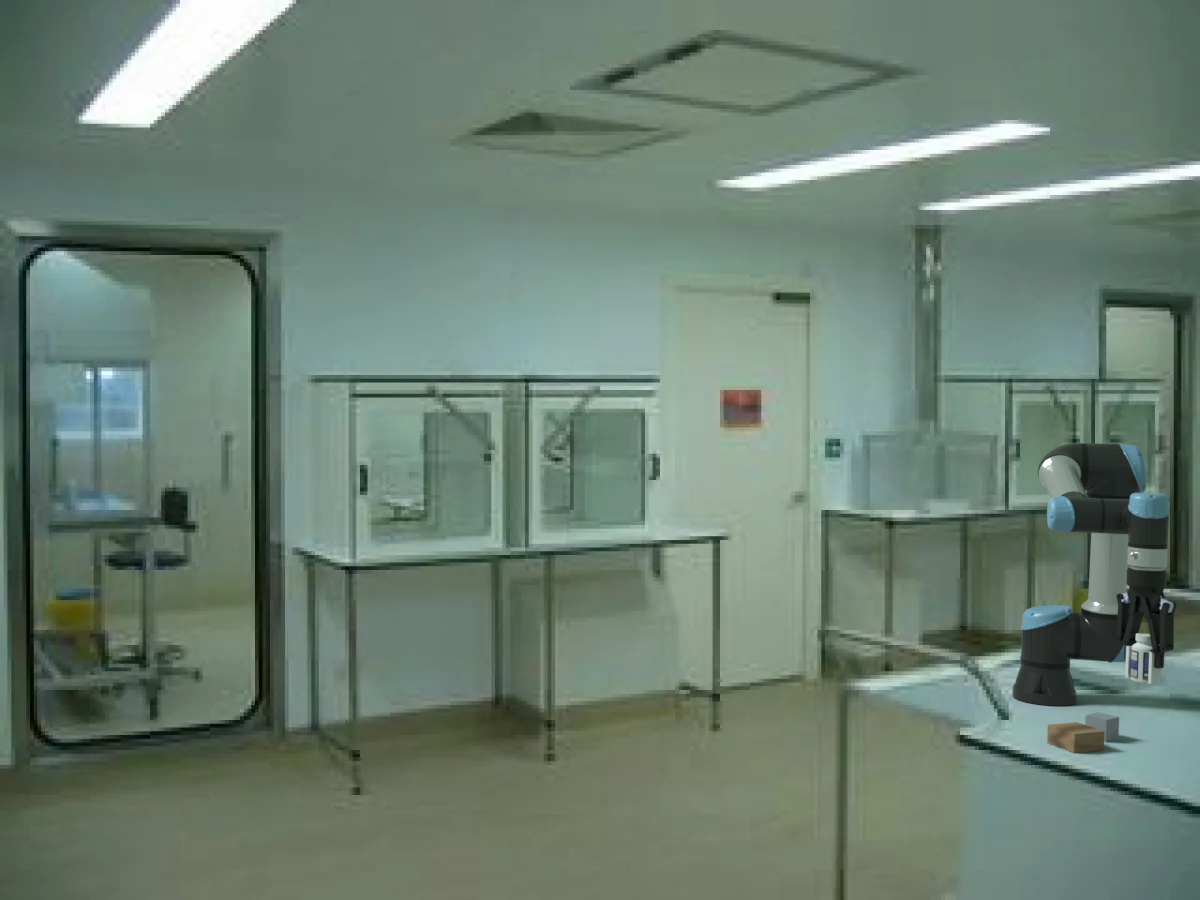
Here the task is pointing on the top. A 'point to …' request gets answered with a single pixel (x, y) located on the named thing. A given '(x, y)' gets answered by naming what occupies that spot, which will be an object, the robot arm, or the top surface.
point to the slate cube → (1104, 724)
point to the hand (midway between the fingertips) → (1142, 679)
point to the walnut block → (1075, 737)
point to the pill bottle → (1140, 658)
